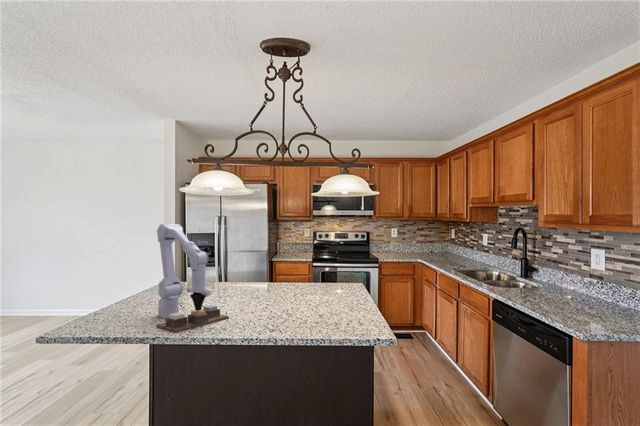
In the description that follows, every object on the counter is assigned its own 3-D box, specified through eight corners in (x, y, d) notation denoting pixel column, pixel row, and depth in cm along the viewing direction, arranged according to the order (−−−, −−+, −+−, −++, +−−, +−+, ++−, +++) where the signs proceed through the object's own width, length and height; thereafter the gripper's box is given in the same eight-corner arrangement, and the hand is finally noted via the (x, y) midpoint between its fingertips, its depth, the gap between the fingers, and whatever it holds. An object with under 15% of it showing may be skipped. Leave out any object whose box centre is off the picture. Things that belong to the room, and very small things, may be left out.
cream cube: (168, 322, 164) (168, 314, 164) (177, 320, 168) (177, 312, 168) (174, 324, 161) (174, 315, 161) (183, 321, 165) (183, 313, 165)
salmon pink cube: (190, 319, 170) (191, 311, 170) (199, 317, 173) (199, 309, 173) (197, 320, 167) (197, 312, 167) (205, 318, 171) (205, 310, 171)
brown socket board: (156, 326, 164) (156, 317, 164) (209, 313, 187) (209, 305, 187) (175, 332, 156) (175, 323, 156) (228, 318, 179) (228, 309, 179)
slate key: (203, 313, 179) (203, 306, 179) (211, 312, 182) (211, 304, 182) (209, 315, 176) (209, 307, 176) (217, 313, 180) (217, 306, 180)
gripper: (180, 278, 171) (180, 309, 171) (201, 282, 163) (201, 314, 163) (194, 276, 177) (193, 306, 177) (214, 280, 168) (214, 311, 168)
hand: (198, 309), depth 170 cm, fingers closed
